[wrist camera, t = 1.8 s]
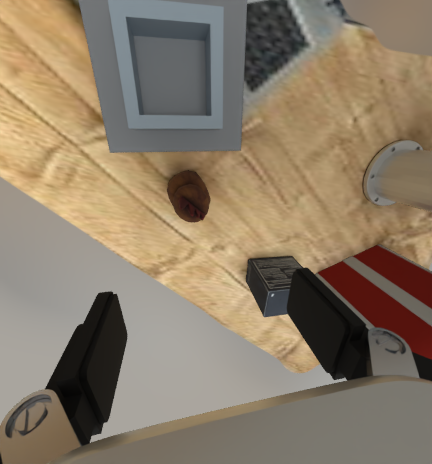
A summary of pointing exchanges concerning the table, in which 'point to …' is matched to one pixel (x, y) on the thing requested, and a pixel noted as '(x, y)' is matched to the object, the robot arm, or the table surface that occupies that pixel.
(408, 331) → the red striped mailbox
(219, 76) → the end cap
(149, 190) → the table surface
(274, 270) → the small box
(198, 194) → the wooden figurine
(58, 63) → the table surface
